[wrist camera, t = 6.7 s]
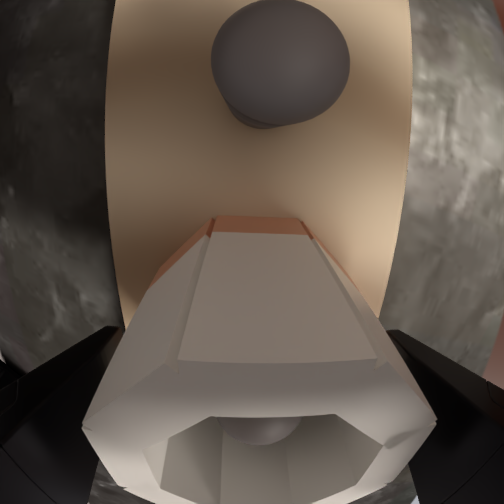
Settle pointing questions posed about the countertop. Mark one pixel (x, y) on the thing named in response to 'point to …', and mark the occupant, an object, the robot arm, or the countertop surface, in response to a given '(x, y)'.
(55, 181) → the countertop surface
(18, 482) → the robot arm
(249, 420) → the pin board
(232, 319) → the sleeve
